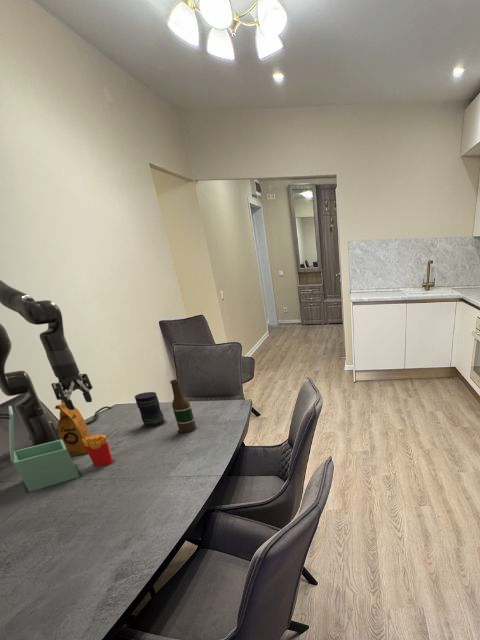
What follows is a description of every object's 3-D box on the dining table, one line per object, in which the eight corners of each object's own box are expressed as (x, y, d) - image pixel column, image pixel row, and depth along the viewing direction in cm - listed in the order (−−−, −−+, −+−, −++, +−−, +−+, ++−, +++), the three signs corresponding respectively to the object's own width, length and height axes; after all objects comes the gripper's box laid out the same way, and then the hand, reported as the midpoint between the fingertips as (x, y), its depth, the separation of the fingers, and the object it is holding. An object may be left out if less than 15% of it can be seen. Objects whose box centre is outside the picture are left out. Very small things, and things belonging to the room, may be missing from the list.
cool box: (74, 465, 158) (61, 439, 152) (79, 476, 150) (66, 448, 144) (26, 479, 150) (11, 451, 144) (29, 492, 141) (13, 462, 135)
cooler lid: (11, 406, 139) (-10, 404, 135) (13, 414, 131) (-10, 413, 127) (12, 450, 144) (-9, 450, 140) (14, 461, 135) (-8, 461, 131)
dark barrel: (169, 421, 199) (160, 393, 191) (153, 428, 191) (143, 399, 184) (155, 419, 203) (146, 391, 195) (139, 426, 195) (129, 397, 188)
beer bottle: (199, 427, 190) (186, 378, 178) (188, 433, 184) (174, 383, 172) (187, 425, 193) (173, 377, 181) (175, 431, 186) (160, 382, 174)
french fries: (91, 467, 156) (80, 440, 151) (94, 463, 160) (82, 436, 154) (115, 463, 159) (104, 436, 153) (116, 459, 162) (106, 432, 156)
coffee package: (64, 457, 166) (41, 408, 155) (73, 446, 176) (52, 399, 165) (90, 453, 168) (69, 404, 157) (98, 442, 178) (78, 396, 167)
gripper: (69, 357, 146) (86, 399, 154) (36, 367, 134) (56, 412, 142) (86, 357, 145) (103, 399, 153) (55, 367, 132) (74, 412, 140)
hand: (80, 405), depth 147 cm, fingers open, 8 cm apart
